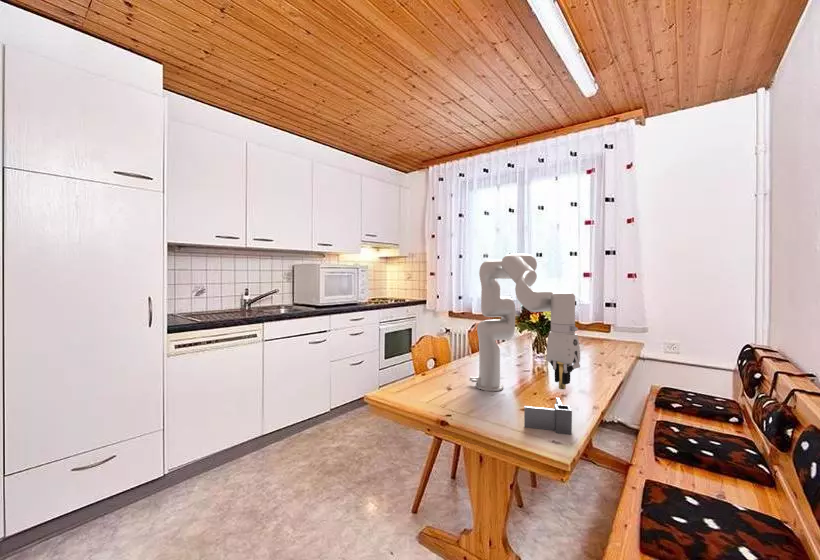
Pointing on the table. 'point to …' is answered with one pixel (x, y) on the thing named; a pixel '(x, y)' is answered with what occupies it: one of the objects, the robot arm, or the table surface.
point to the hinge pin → (561, 370)
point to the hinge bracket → (549, 418)
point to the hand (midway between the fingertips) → (562, 382)
